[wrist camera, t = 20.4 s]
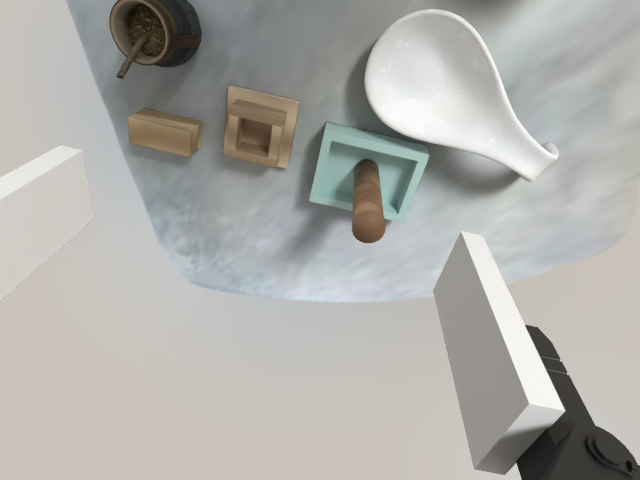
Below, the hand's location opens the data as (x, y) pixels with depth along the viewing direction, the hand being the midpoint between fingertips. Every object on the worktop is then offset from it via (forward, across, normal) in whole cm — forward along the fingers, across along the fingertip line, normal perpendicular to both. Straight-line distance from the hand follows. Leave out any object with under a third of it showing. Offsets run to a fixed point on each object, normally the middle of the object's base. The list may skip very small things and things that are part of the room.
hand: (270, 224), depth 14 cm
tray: (+34, +7, -11) cm, 36 cm away
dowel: (+33, +7, -11) cm, 35 cm away
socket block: (+34, -7, -9) cm, 36 cm away
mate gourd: (+34, -17, 0) cm, 38 cm away
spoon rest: (+35, +15, -1) cm, 38 cm away
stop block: (+34, -18, -11) cm, 40 cm away
